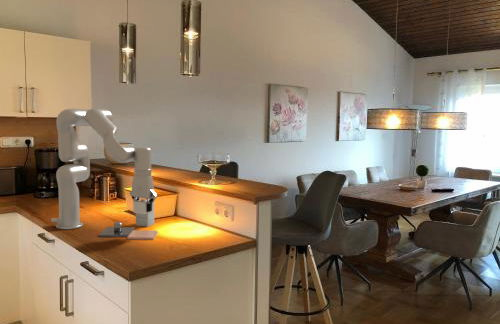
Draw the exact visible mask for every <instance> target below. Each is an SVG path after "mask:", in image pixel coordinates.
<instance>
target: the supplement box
mask: <svg viewBox="0 0 500 324" xmlns="http://www.w3.org/2000/svg"><path fill="white" fill-rule="evenodd" d="M154 224H155V200H154V201H153V212H150V213H147V214H138V213H135V226H139V227H150V226H153V225H154Z"/></svg>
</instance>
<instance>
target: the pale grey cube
mask: <svg viewBox="0 0 500 324" xmlns="http://www.w3.org/2000/svg"><path fill="white" fill-rule="evenodd" d="M132 203H133V214H136V213H138V214H147V213H150V212H153V203H152V211H150V212H147V208H146V204H147V200H146V198H141V199H139V200H137V201H133V202H132Z"/></svg>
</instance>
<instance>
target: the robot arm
mask: <svg viewBox="0 0 500 324" xmlns="http://www.w3.org/2000/svg"><path fill="white" fill-rule="evenodd" d="M113 120H114V117H113V114H112V112H111V111H110V110H108V109H106V108H96V107H95V108H94V107H93V108H90V109H86V108H85V109H84V108H67V109H63V110H62V111H60V112H59V113H58V114H57V116H56V129H57V141H58V142H57V143H58V158H59V159H60V161H61V162H64V163H70V164H64V165H62V166H60V167H58V168H57V170H56V173H55V175H56V178H55V179H56V182H57V187H58V217H57V218H56V217H54V218H53V217H52V218H51V219H50V221H51V223H54V224H55V223H56V224H55V228H56V229H60V230H72V229H78V228H82V227H83V225H84V223H83V222H81V221H80V189H79V187H78V185H77V183H80V182H85V181H86V180H88V178H89V177H90V175H91V174H90V173H91V166H90V165H91V162H90V161H91V160H90V157H91V156H90V150H89V148H88V146H87V144H85V143H83V142H78V140H77V137H78V135H77V132H76V130H75V129H74V127H90V128H92V129H93V130H94V131H95V132H96V134H97V135H99V136H100V138H101V139H102V144H103V147H104V150H105V151H106V152H107V154H109V155H110V157H111V158H112V159H114V161H116V162H117V163H121V164H122V163H123V164H125V163H131V162H134V170H133V173H134V175H133V178H132V181H131V182H132V183H131V191H129V195H130V196H131V199H132V200H133V201H137V200H141V199H145V200H147V204H146V208H147V212H150V211H152V203H153V201H154V202H155V200H156V199H157V197H158V195H157V193H156V192H155V186H154V179H153V176H152V148H151V147H147V146H136V145H121V143H120V142H119V141H118V140H117V139H116V137H115V136H117V135H116V134H117V133H118V128H117V126H116V125H114V123H113ZM71 162H72V163H73V164H71Z"/></svg>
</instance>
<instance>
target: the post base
mask: <svg viewBox="0 0 500 324" xmlns="http://www.w3.org/2000/svg"><path fill="white" fill-rule="evenodd" d="M122 224H123V223H122V222H121V221H115V222H113V226H107V227H105V229H103V230H102V231H101V232H100V233H99V234H98V237H99V238H100V237H101V238H104V237H105V238H127V237H128V236H129V235H130V233H131V232H132V231H136V227H131V226H130V227H129V226H128V227H127V226H126V227H125V226H123V225H122Z"/></svg>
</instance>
